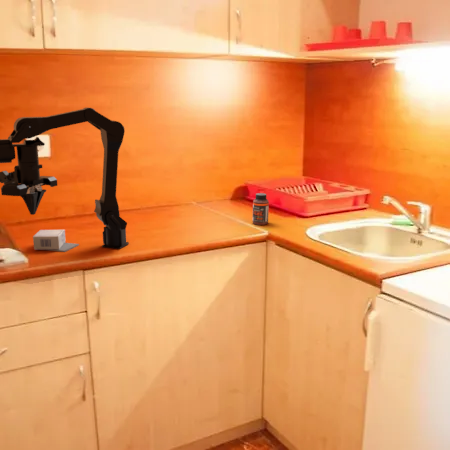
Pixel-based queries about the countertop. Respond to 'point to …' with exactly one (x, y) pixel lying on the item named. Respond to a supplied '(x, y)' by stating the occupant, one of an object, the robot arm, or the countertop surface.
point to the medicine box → (49, 239)
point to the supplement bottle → (260, 209)
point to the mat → (66, 247)
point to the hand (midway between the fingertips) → (32, 214)
